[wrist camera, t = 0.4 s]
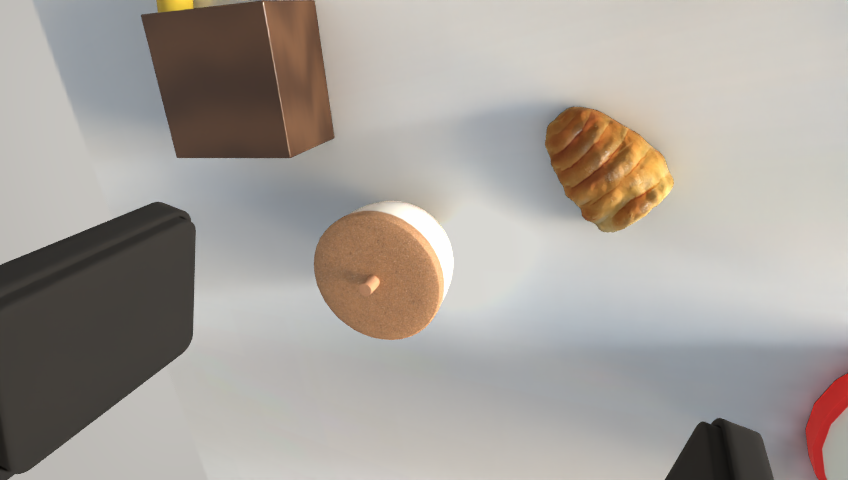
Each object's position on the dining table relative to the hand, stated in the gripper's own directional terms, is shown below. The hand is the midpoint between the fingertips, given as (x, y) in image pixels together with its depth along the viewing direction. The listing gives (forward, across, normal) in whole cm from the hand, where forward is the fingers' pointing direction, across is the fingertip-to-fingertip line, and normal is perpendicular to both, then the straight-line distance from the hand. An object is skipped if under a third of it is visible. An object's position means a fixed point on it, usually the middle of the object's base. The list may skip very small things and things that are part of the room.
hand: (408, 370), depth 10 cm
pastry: (+35, -3, +5) cm, 35 cm away
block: (+35, +26, +6) cm, 44 cm away
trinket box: (+35, +10, +16) cm, 40 cm away
